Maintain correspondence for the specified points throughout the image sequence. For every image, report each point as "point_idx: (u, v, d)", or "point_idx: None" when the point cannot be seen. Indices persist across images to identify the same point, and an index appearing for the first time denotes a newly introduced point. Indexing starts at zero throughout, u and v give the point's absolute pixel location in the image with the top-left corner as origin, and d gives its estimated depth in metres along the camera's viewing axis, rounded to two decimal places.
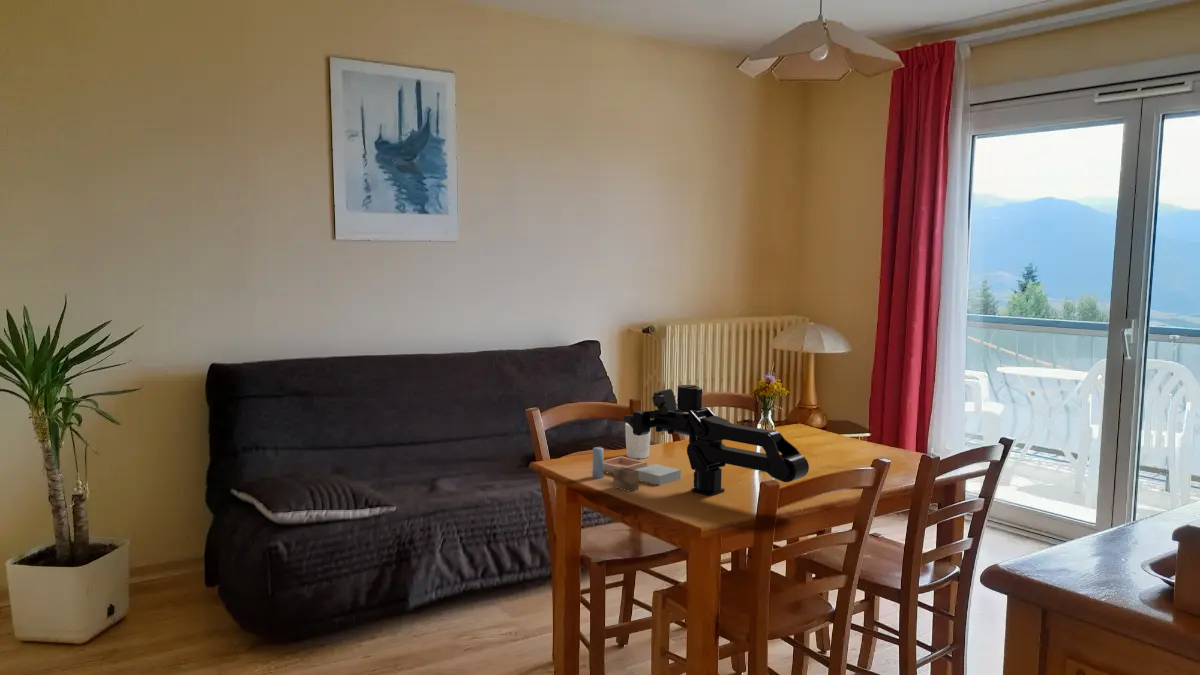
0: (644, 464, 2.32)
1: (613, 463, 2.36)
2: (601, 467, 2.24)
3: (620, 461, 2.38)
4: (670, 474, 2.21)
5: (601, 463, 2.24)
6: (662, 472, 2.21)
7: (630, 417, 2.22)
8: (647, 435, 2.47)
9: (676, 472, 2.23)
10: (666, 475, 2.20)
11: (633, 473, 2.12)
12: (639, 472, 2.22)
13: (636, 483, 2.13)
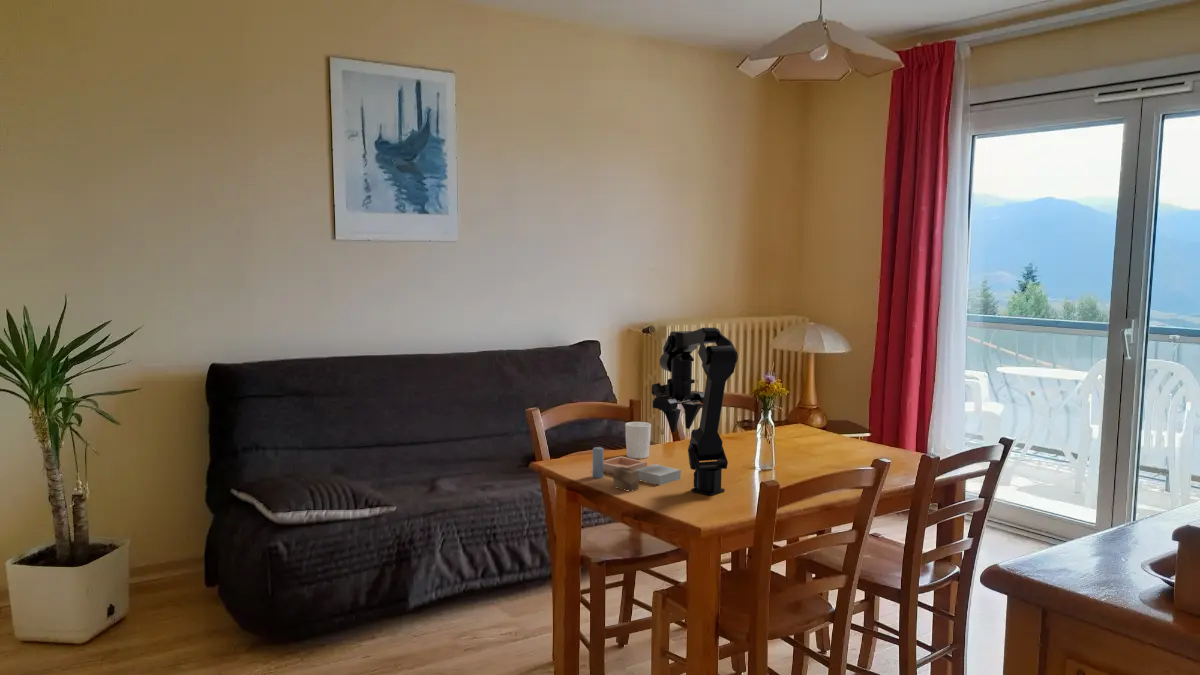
0: (644, 464, 2.32)
1: (613, 463, 2.36)
2: (601, 467, 2.24)
3: (620, 461, 2.38)
4: (670, 474, 2.21)
5: (601, 463, 2.24)
6: (662, 472, 2.21)
7: (668, 420, 2.27)
8: (647, 435, 2.47)
9: (676, 472, 2.23)
10: (666, 475, 2.20)
11: (633, 473, 2.12)
12: (639, 472, 2.22)
13: (636, 483, 2.13)
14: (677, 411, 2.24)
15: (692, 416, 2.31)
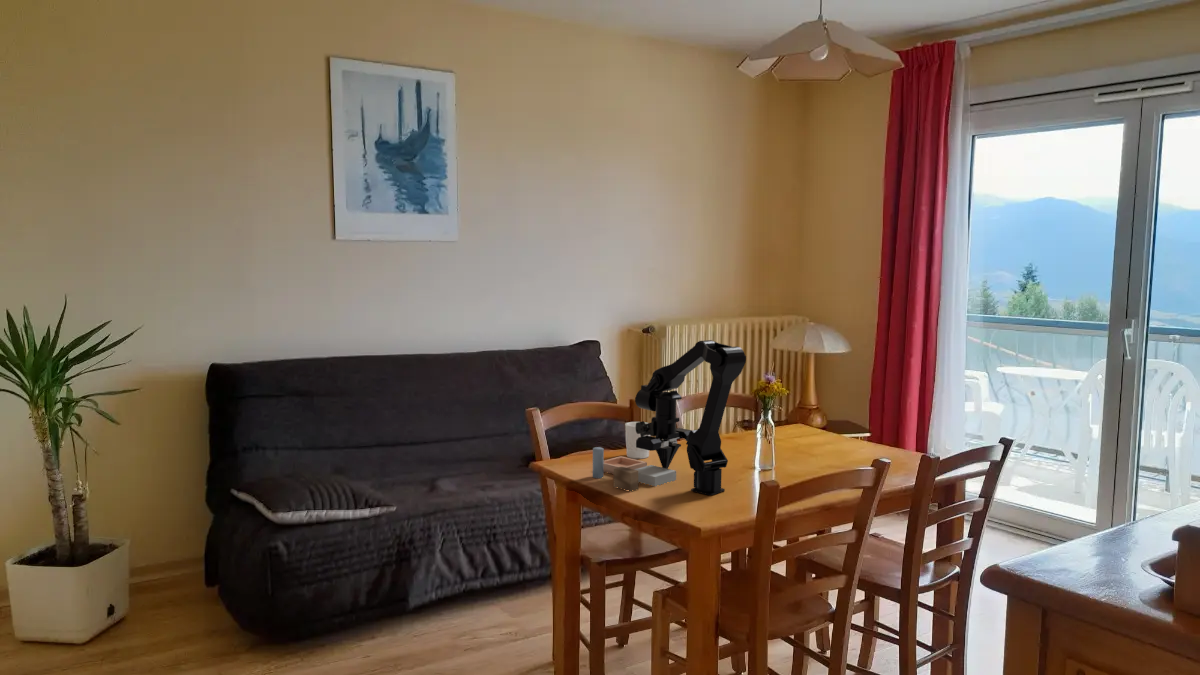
0: (644, 464, 2.32)
1: (613, 463, 2.36)
2: (601, 467, 2.24)
3: (620, 461, 2.38)
4: (665, 475, 2.20)
5: (601, 463, 2.24)
6: (657, 473, 2.20)
7: (660, 458, 2.26)
8: (647, 435, 2.47)
9: (672, 473, 2.22)
10: (661, 476, 2.18)
11: (633, 473, 2.12)
12: None
13: (636, 483, 2.13)
14: (668, 449, 2.22)
15: (670, 456, 2.25)
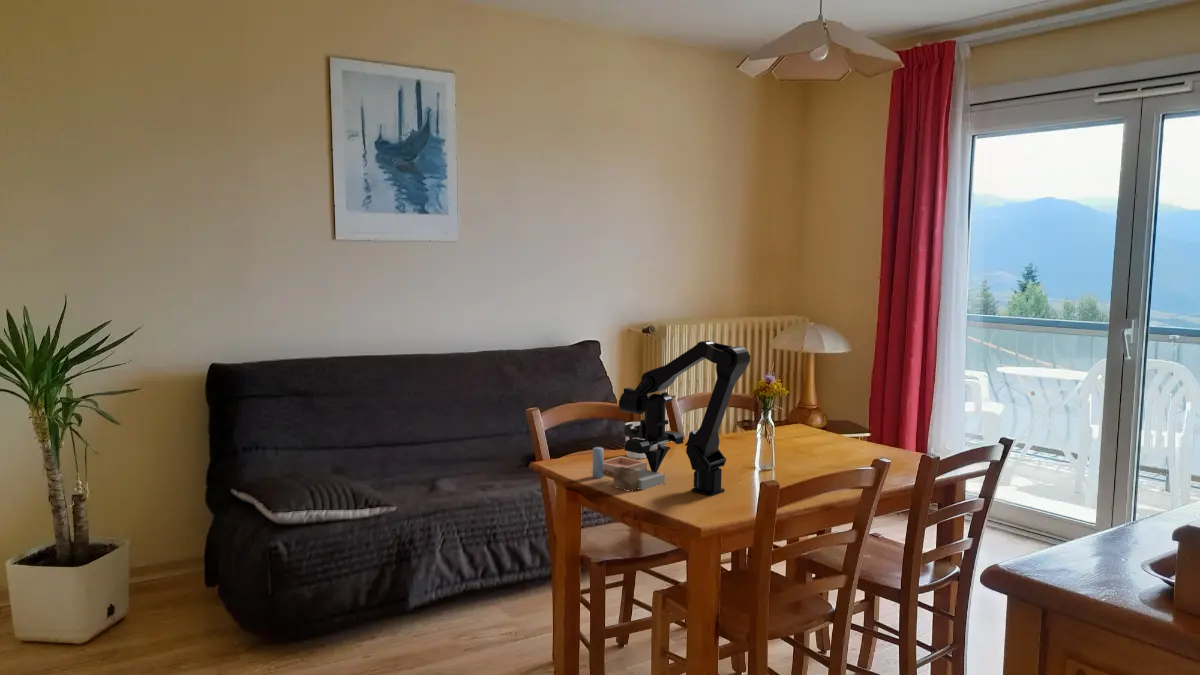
0: (644, 464, 2.32)
1: (613, 463, 2.36)
2: (601, 467, 2.24)
3: (620, 461, 2.38)
4: (653, 479, 2.16)
5: (601, 463, 2.24)
6: (645, 477, 2.17)
7: (649, 461, 2.22)
8: None
9: (660, 477, 2.18)
10: (649, 480, 2.15)
11: (633, 473, 2.12)
12: None
13: (636, 483, 2.13)
14: (657, 452, 2.19)
15: (659, 460, 2.22)
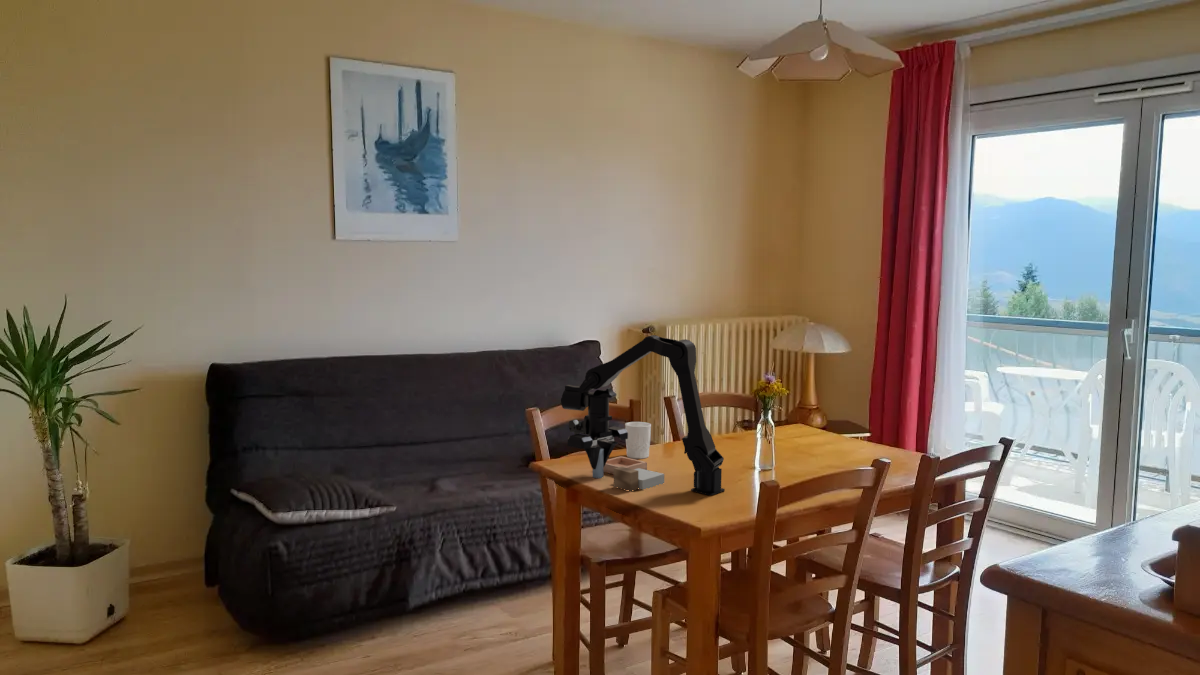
0: (644, 464, 2.32)
1: (613, 463, 2.36)
2: (601, 467, 2.24)
3: (620, 461, 2.38)
4: (653, 478, 2.16)
5: (601, 463, 2.24)
6: (645, 476, 2.17)
7: (589, 457, 2.24)
8: (647, 435, 2.47)
9: (660, 476, 2.18)
10: (649, 479, 2.15)
11: (633, 473, 2.12)
12: None
13: (636, 483, 2.13)
14: (596, 448, 2.20)
15: (606, 454, 2.25)
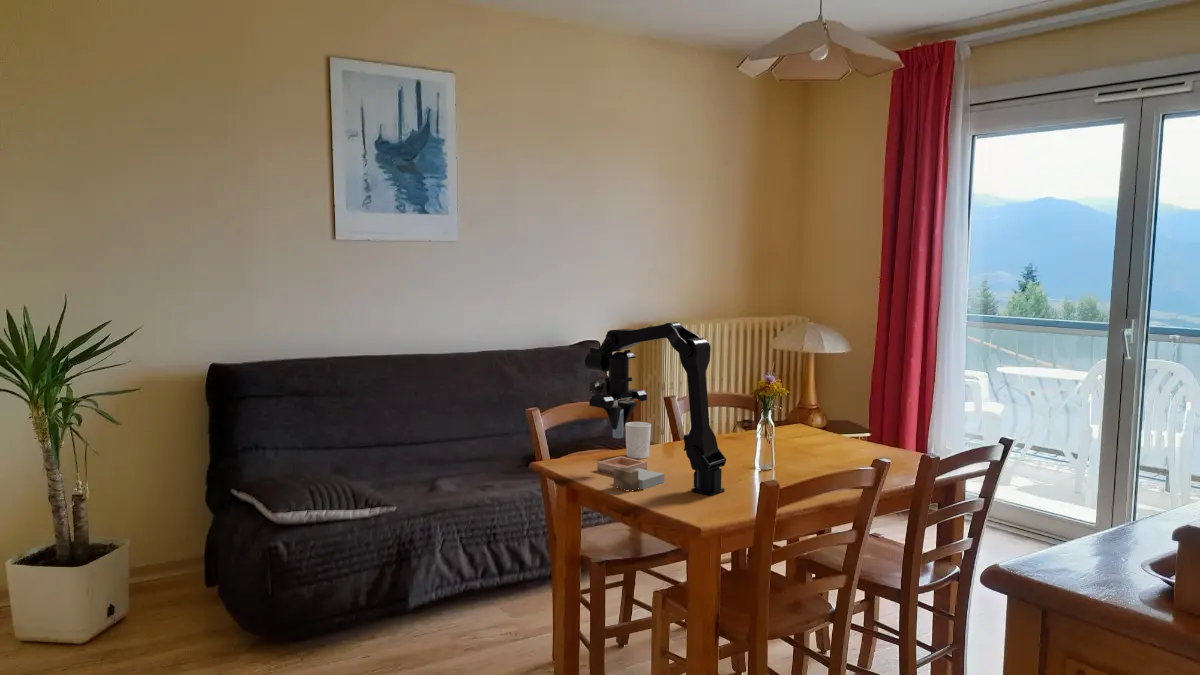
0: (644, 464, 2.32)
1: (613, 463, 2.36)
2: (621, 427, 2.29)
3: (620, 461, 2.38)
4: (653, 478, 2.16)
5: (621, 423, 2.29)
6: (645, 476, 2.17)
7: (610, 418, 2.29)
8: (647, 435, 2.47)
9: (660, 476, 2.18)
10: (649, 479, 2.15)
11: (633, 473, 2.12)
12: None
13: (636, 483, 2.13)
14: (618, 408, 2.25)
15: (626, 415, 2.31)
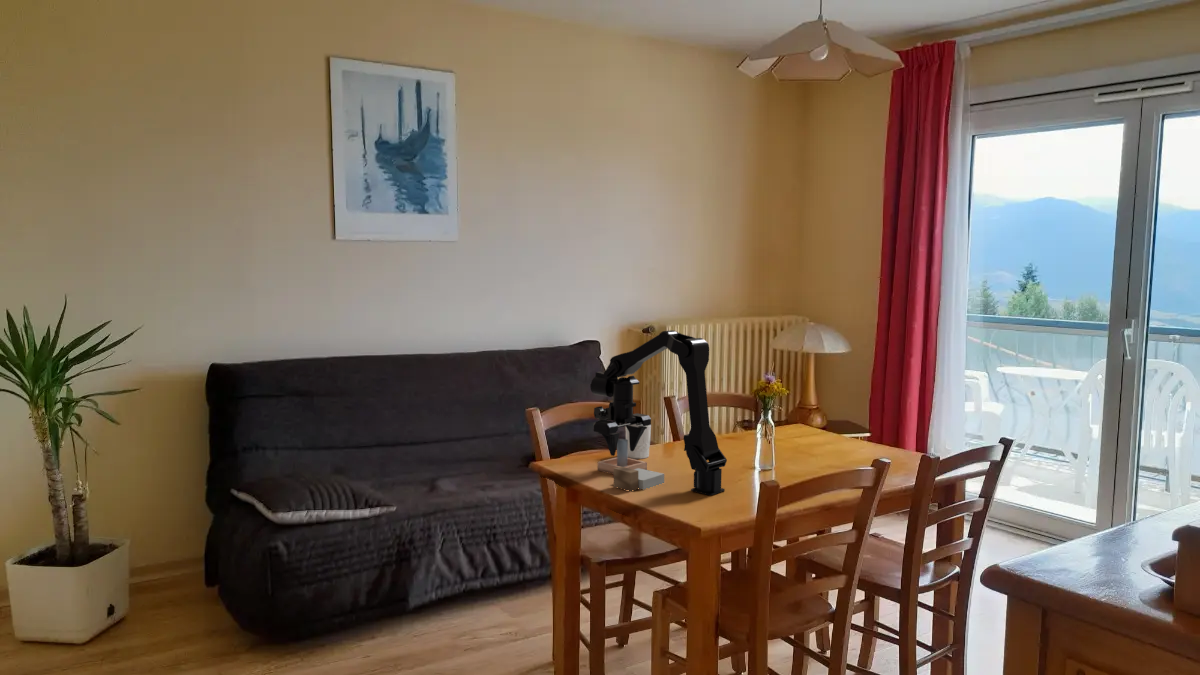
0: (644, 464, 2.32)
1: (613, 463, 2.36)
2: (625, 458, 2.32)
3: None
4: (654, 478, 2.16)
5: (625, 454, 2.31)
6: (645, 476, 2.17)
7: (608, 444, 2.29)
8: (647, 435, 2.47)
9: (660, 476, 2.18)
10: (650, 479, 2.15)
11: (633, 473, 2.12)
12: None
13: (636, 483, 2.13)
14: (615, 435, 2.26)
15: (636, 438, 2.34)
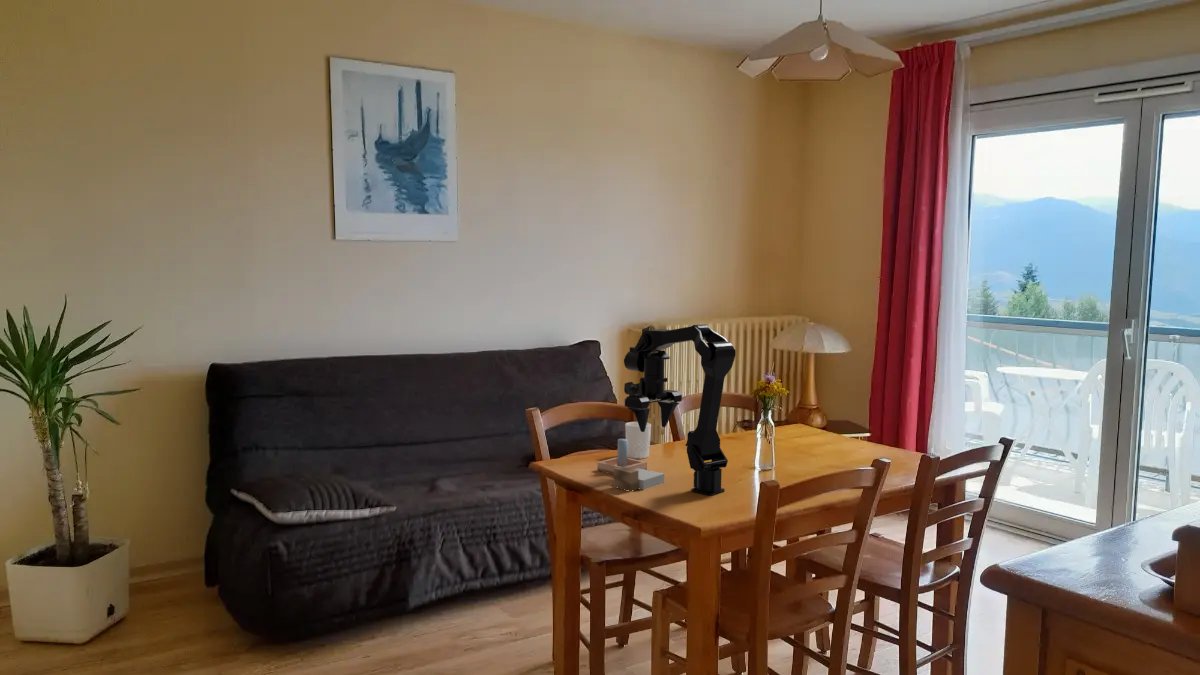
0: (644, 464, 2.32)
1: (613, 463, 2.36)
2: (625, 458, 2.32)
3: None
4: (654, 478, 2.17)
5: (626, 454, 2.32)
6: (646, 476, 2.17)
7: (638, 420, 2.25)
8: (647, 435, 2.47)
9: (660, 476, 2.18)
10: (650, 479, 2.15)
11: (633, 473, 2.12)
12: None
13: (636, 483, 2.13)
14: (646, 410, 2.22)
15: (668, 414, 2.31)
